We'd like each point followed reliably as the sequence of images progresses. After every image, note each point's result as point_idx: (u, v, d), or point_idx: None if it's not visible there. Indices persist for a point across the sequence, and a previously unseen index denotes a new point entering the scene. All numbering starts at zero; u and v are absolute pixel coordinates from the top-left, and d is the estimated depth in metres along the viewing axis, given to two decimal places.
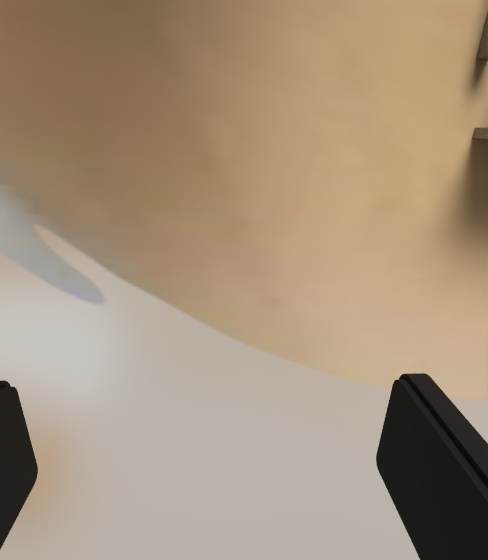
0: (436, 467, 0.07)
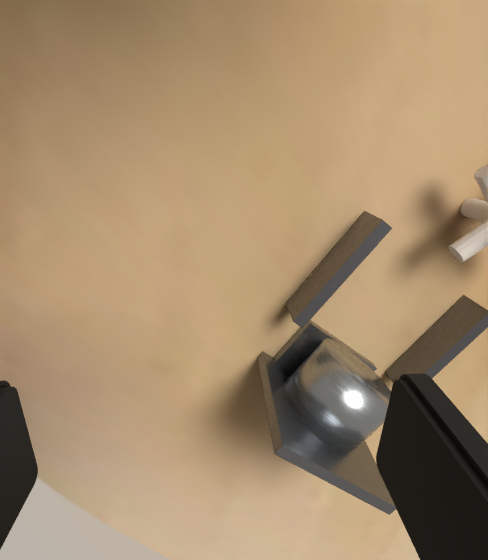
0: (436, 467, 0.07)
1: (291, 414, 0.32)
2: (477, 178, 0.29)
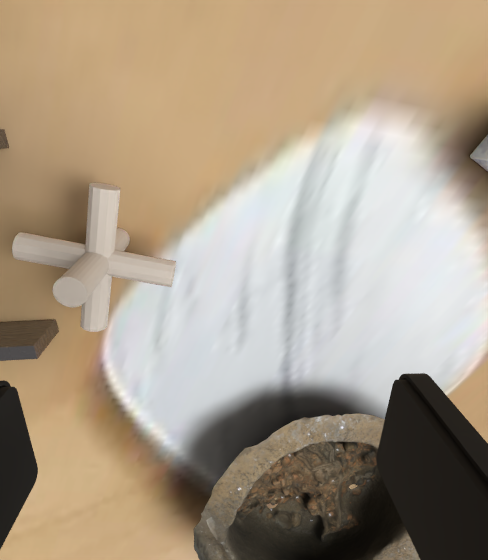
0: (436, 467, 0.07)
1: None
2: None
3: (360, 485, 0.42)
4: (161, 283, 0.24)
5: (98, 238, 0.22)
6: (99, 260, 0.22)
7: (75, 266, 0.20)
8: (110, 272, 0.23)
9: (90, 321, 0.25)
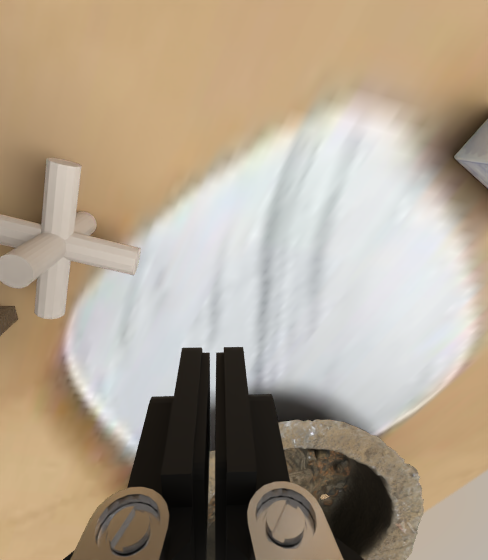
0: None
1: None
2: None
3: (331, 495, 0.40)
4: (122, 270, 0.23)
5: (55, 217, 0.21)
6: (54, 241, 0.21)
7: (23, 245, 0.19)
8: (67, 255, 0.22)
9: (44, 307, 0.23)
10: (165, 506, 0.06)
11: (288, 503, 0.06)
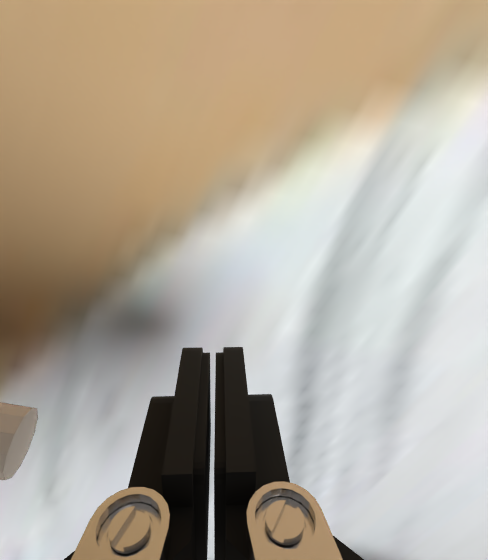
0: None
1: None
2: None
3: None
4: None
5: None
6: None
7: None
8: None
9: None
10: (166, 506, 0.06)
11: (287, 503, 0.06)
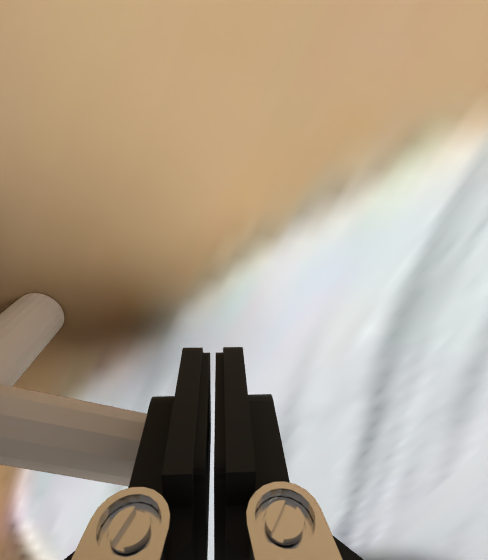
0: None
1: None
2: None
3: None
4: (106, 481, 0.09)
5: None
6: None
7: None
8: None
9: None
10: (166, 506, 0.06)
11: (287, 503, 0.06)
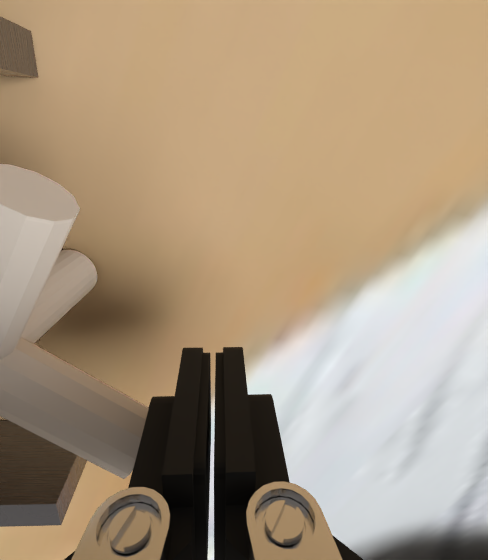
0: None
1: None
2: None
3: None
4: None
5: None
6: None
7: None
8: None
9: None
10: (166, 506, 0.06)
11: (287, 503, 0.06)
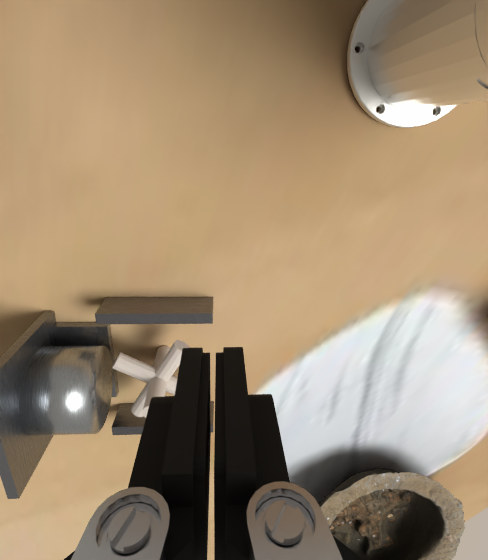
0: None
1: (19, 371, 0.33)
2: None
3: (395, 515, 0.58)
4: None
5: (167, 372, 0.37)
6: (164, 386, 0.37)
7: (155, 394, 0.35)
8: None
9: (140, 411, 0.39)
10: (166, 506, 0.06)
11: (288, 503, 0.06)
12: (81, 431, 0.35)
